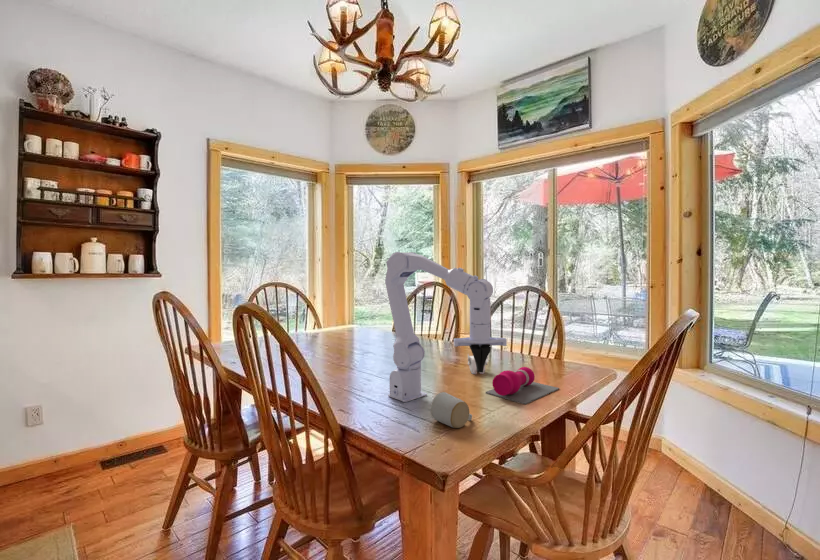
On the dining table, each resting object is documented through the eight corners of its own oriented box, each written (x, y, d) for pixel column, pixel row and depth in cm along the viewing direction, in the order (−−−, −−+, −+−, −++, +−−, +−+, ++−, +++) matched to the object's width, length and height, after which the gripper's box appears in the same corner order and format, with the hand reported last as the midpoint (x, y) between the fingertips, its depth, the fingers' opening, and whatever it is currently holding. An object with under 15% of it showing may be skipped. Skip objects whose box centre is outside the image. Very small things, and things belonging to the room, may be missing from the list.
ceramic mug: (452, 433, 98) (452, 402, 98) (429, 423, 104) (429, 394, 104) (479, 422, 105) (480, 394, 105) (457, 414, 111) (457, 387, 111)
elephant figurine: (484, 368, 157) (484, 350, 156) (490, 375, 147) (490, 355, 147) (464, 368, 156) (464, 350, 156) (469, 375, 147) (468, 356, 147)
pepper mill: (512, 399, 119) (541, 386, 134) (512, 374, 119) (540, 364, 135) (490, 395, 124) (520, 383, 139) (490, 371, 124) (520, 362, 139)
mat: (525, 404, 117) (525, 403, 117) (485, 393, 127) (485, 391, 127) (559, 389, 131) (559, 387, 131) (520, 380, 141) (520, 378, 141)
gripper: (502, 320, 118) (502, 367, 119) (452, 321, 118) (452, 367, 118) (508, 324, 111) (508, 373, 112) (455, 325, 111) (455, 374, 111)
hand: (479, 371), depth 115 cm, fingers closed
